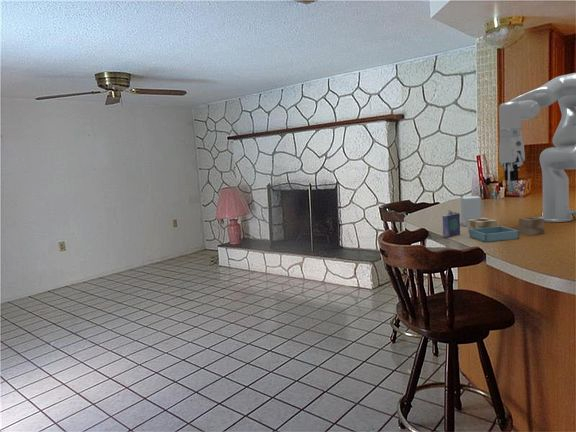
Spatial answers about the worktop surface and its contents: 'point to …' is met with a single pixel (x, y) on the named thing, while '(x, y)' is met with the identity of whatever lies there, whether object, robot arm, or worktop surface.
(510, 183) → the steel pin
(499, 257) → the worktop surface
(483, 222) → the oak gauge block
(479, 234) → the teal tray
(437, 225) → the worktop surface
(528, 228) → the walnut block
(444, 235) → the flask
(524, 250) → the worktop surface
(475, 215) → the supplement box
